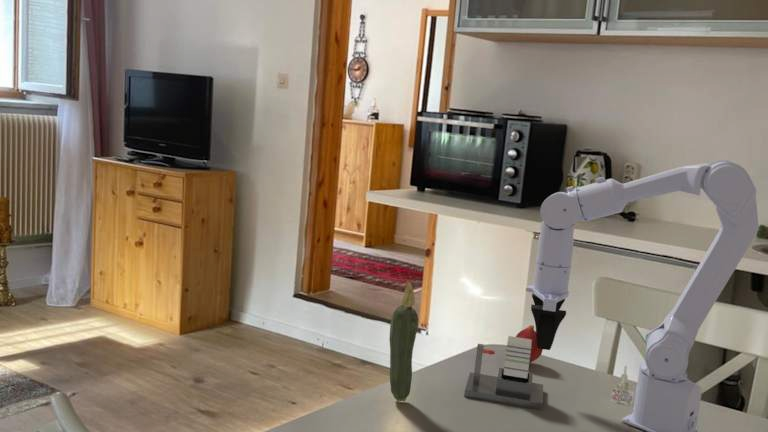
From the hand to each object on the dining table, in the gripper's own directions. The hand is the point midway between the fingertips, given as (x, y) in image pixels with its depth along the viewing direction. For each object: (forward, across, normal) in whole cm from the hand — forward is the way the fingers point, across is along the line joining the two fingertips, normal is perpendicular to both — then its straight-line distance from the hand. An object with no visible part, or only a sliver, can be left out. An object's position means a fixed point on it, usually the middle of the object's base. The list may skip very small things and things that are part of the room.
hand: (543, 342), depth 125 cm
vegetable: (+10, +12, -22) cm, 27 cm away
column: (+6, 0, -4) cm, 7 cm away
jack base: (+10, 0, -6) cm, 12 cm away
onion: (+10, -18, -2) cm, 21 cm away
